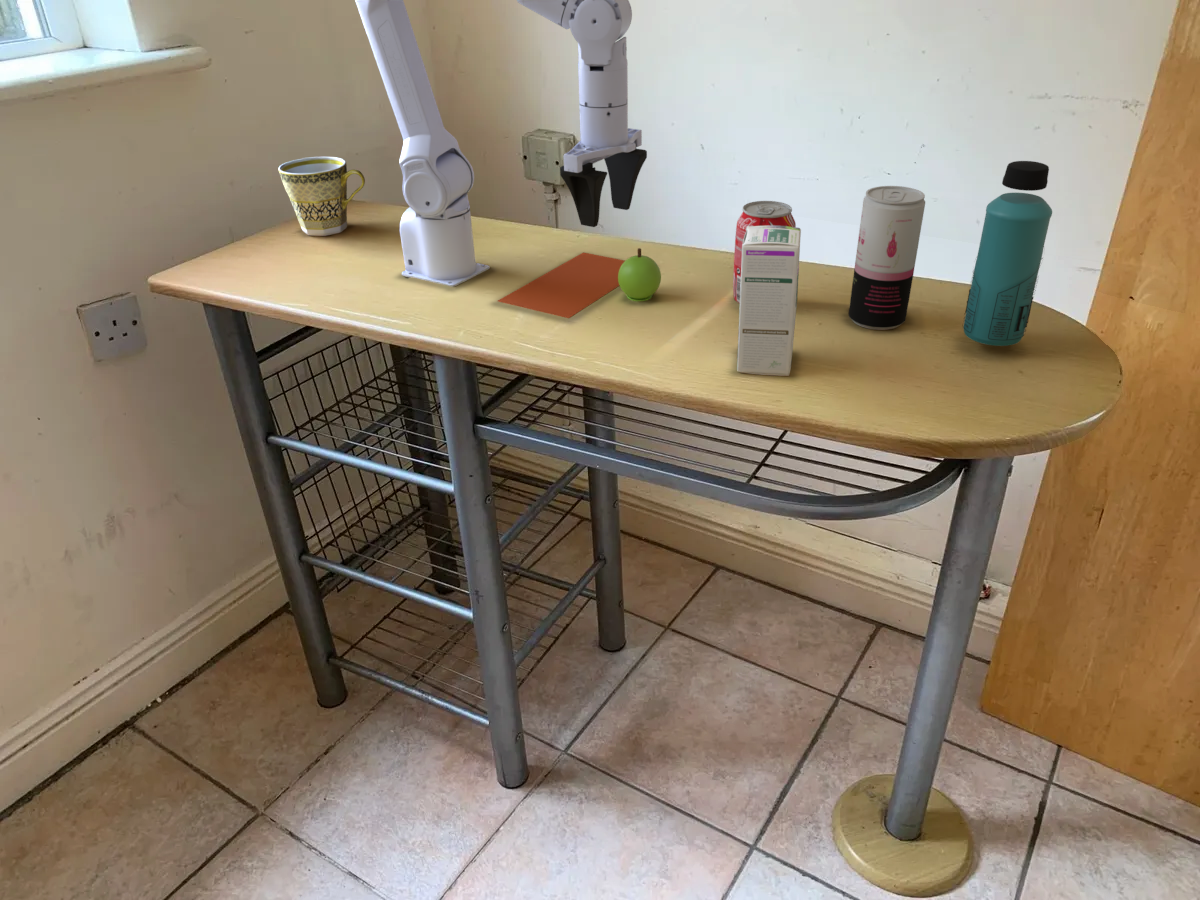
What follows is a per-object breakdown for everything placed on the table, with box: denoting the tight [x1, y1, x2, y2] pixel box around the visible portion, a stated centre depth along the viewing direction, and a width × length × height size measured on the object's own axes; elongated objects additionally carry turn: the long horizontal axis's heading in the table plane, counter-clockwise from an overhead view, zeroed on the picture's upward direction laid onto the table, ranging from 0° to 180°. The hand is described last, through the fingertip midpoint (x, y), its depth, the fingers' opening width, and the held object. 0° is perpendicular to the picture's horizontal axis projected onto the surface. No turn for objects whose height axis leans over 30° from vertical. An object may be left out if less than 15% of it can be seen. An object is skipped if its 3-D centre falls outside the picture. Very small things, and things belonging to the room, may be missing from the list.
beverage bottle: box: [962, 160, 1053, 347], centre depth 94 cm, size 6×7×20 cm
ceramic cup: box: [277, 156, 366, 237], centre depth 138 cm, size 13×10×10 cm
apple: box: [618, 247, 662, 302], centre depth 112 cm, size 5×5×7 cm
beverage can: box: [848, 185, 926, 331], centre depth 102 cm, size 6×7×15 cm
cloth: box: [497, 251, 626, 319], centre depth 118 cm, size 11×20×1 cm, turn 148°
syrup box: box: [736, 225, 802, 377], centre depth 94 cm, size 6×6×14 cm
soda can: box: [732, 200, 797, 305], centre depth 108 cm, size 7×7×12 cm
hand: (605, 216), depth 112 cm, fingers open, 7 cm apart
